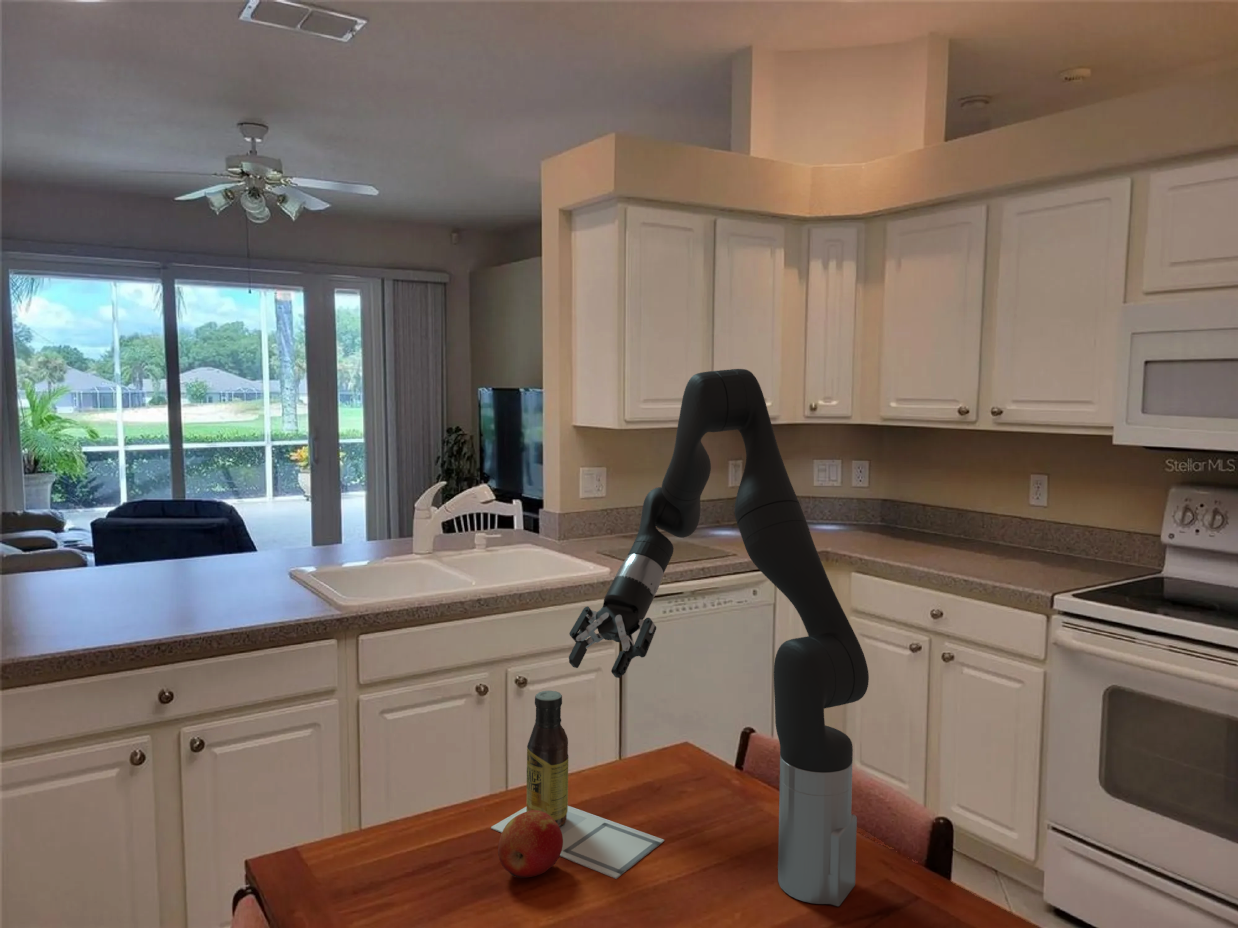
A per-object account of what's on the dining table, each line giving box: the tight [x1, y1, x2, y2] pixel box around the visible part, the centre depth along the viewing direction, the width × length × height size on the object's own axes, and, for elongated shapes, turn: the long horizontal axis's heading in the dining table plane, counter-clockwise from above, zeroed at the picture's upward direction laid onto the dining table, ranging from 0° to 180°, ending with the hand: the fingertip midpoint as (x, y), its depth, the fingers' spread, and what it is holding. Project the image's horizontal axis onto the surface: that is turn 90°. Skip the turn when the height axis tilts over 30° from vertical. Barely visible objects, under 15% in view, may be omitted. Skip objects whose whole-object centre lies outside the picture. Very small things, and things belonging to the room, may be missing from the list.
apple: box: [497, 810, 563, 879], centre depth 113 cm, size 8×8×8 cm
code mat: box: [490, 805, 665, 880], centre depth 124 cm, size 23×12×1 cm, turn 55°
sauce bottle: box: [526, 690, 569, 827], centre depth 126 cm, size 6×6×20 cm
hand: (593, 670), depth 135 cm, fingers open, 8 cm apart
